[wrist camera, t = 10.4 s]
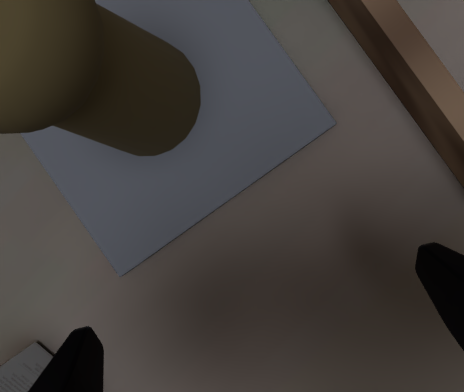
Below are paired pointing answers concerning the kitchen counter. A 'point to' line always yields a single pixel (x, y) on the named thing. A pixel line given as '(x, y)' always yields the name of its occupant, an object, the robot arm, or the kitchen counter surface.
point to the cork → (93, 77)
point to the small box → (23, 369)
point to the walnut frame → (411, 73)
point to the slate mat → (200, 137)
